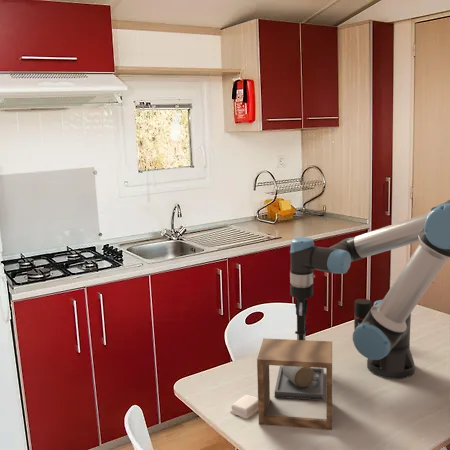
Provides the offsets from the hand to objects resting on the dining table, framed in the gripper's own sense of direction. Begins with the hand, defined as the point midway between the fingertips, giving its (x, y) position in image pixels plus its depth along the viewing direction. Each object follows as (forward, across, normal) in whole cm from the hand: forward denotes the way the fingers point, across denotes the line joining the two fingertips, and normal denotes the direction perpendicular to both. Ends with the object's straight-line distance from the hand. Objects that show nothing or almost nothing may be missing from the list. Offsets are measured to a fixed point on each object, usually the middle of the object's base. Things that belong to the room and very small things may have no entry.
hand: (301, 350), depth 183 cm
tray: (+5, -14, 0) cm, 15 cm away
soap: (+6, -30, +14) cm, 34 cm away
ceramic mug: (+5, -13, -1) cm, 14 cm away
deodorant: (+5, +24, -22) cm, 33 cm away
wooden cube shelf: (+5, -31, 0) cm, 31 cm away
